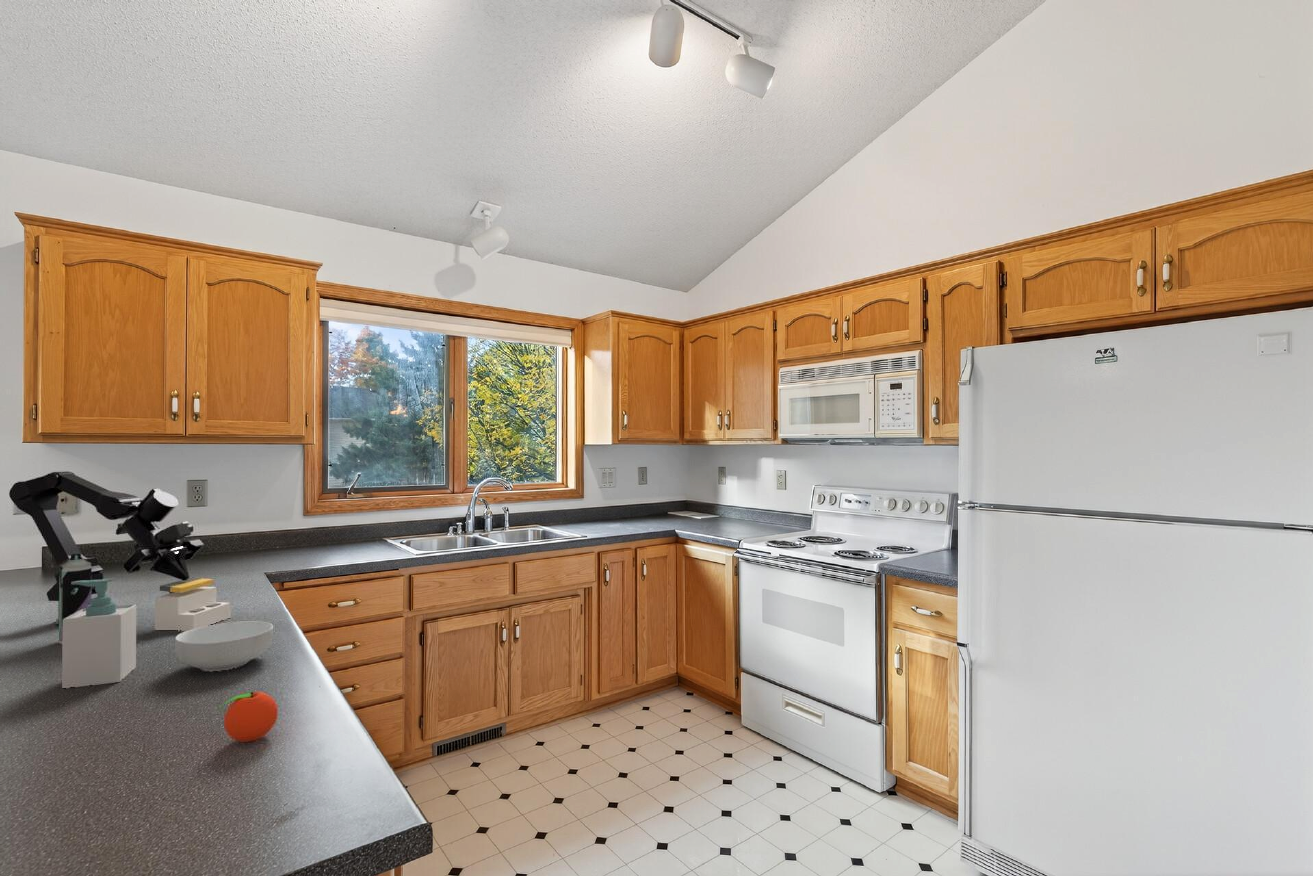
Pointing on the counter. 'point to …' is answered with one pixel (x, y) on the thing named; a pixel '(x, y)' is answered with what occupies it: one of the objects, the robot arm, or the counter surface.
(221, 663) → the cereal bowl
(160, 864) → the counter surface
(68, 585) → the spray can
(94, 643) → the soap bottle
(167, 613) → the stepped slotted block
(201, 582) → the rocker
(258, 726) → the clementine
